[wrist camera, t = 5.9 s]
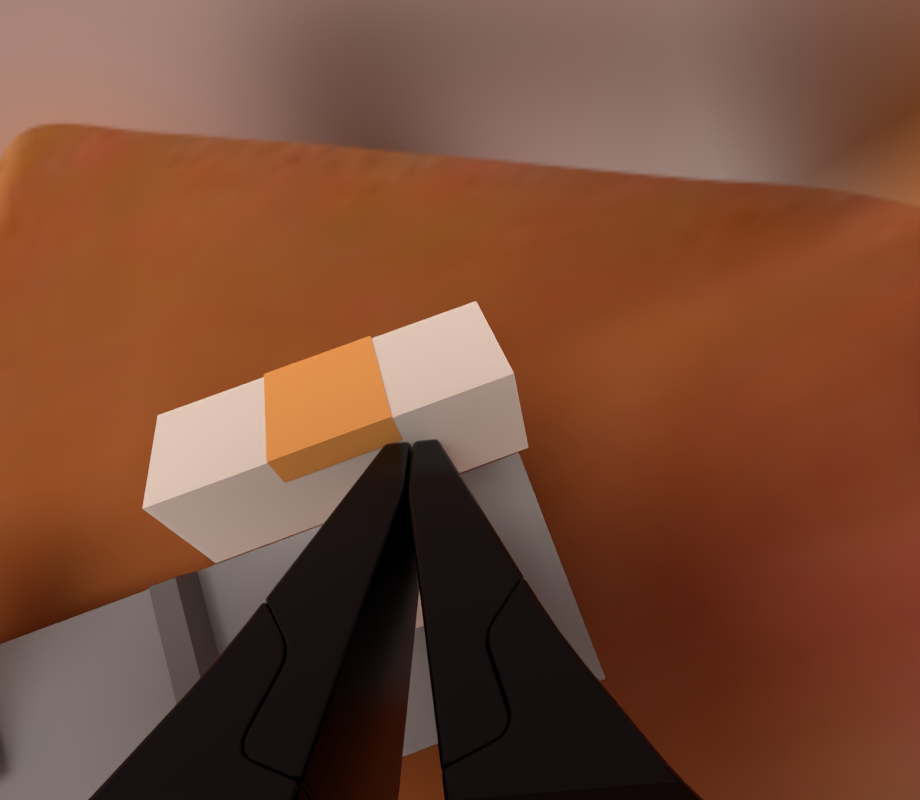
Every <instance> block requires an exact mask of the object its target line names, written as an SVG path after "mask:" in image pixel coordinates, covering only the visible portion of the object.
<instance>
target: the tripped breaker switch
mask: <svg viewBox="0 0 920 800" xmlns="http://www.w3.org/2000/svg"><path fill="white" fill-rule="evenodd" d="M431 439H437V440H438V441H440V443H441V444H442V446H443V448H444V449H445V451H446V452H447V454H448V456H449V457H450V459H451V460H452V462H453V464H454V465H455V467H456V468H457V470H458V472H459V473H461V472H464V471H467V470H469V469H472V468H475V467H477V466H480V465H483V464H486V463H488V462H491V461H494V460H496V459H499V458H502V457H505V456H507V455H510V454H513V453H515V452H518V451H521V450H523V449H526V448H529V447H528V442H527V437H526V432H525V427H524V422H523V417H522V411H521V406H520V401H519V396H518V391H517V386H516V381H515V376H514V372H513V371H512V369H511V367H510V365H509V363H508V361H507V359H506V357H505V355H504V353H503V351H502V350H501V348H500V346H499V344H498V342H497V340H496V338H495V336H494V334H493V332H492V330H491V329H490V327H489V325H488V323H487V321H486V319H485V317H484V315H483V313H482V311H481V309H480V308H479V306H478V304H477V302H476V301H475V302H472V303H469V304H466V305H463V306H461V307H458V308H455V309H452V310H450V311H447V312H444V313H441V314H438V315H436V316H433V317H430V318H427V319H424V320H422V321H419V322H416V323H413V324H411V325H408V326H405V327H402V328H399V329H397V330H394V331H391V332H388V333H385V334H383V335H380V336H377V337H374V338H372V339H371V336H368V337H366V338H363V339H360V340H357V341H355V342H352V343H349V344H346V345H343V346H341V347H338V348H335V349H332V350H329V351H327V352H324V353H321V354H318V355H315V356H313V357H310V358H307V359H304V360H302V361H299V362H296V363H293V364H290V365H288V366H285V367H282V368H279V369H276V370H274V371H271V372H268V373H265V374H264V377H263V378H260V379H257V380H255V381H252V382H249V383H246V384H243V385H241V386H238V387H235V388H232V389H229V390H227V391H224V392H221V393H218V394H216V395H213V396H210V397H207V398H204V399H202V400H199V401H196V402H193V403H190V404H188V405H185V406H182V407H179V408H177V409H174V410H171V411H168V412H165V413H163V414H160V415H158V417H157V423H156V429H155V435H154V441H153V447H152V453H151V459H150V466H149V472H148V478H147V484H146V490H145V496H144V502H143V508H142V509H143V510H145V511H146V512H148V513H149V514H150V515H152V516H153V517H154V518H156V519H157V520H158V521H160V522H161V523H162V524H164V525H165V526H166V527H168V528H169V529H170V530H172V531H173V532H174V533H176V534H177V535H178V536H180V537H181V538H182V539H184V540H185V541H187V542H188V543H189V544H191V545H192V546H193V547H195V548H196V549H197V550H199V551H200V552H201V553H203V554H204V555H205V556H207V557H208V558H209V559H211V560H212V561H213V562H215V563H218V562H220V561H223V560H226V559H228V558H231V557H234V556H236V555H239V554H242V553H245V552H247V551H250V550H253V549H255V548H258V547H261V546H264V545H266V544H269V543H272V542H274V541H277V540H280V539H283V538H285V537H288V536H291V535H293V534H296V533H299V532H301V531H304V530H307V529H310V528H312V527H315V526H318V525H320V524H322V525H323V524H324V522H325V521H326V520H327V519H328V517H329V516H330V515H331V513H332V512H333V511H334V510H335V508H336V507H337V506H338V504H339V503H340V502H341V501H342V499H343V498H344V497H345V495H346V494H347V493H348V491H349V490H350V489H351V488H352V486H353V485H354V484H355V482H356V481H357V480H358V479H359V477H360V476H361V475H362V473H363V472H364V471H365V470H366V468H367V467H368V466H369V464H370V463H371V462H372V461H373V459H374V458H375V457H376V455H377V454H378V453H379V451H380V450H381V449H382V448H383V446H384V445H386V444H389V443H399V442H409V443H410V444H411V446H412V450H413V444H414V443H415V442H416V441H420V440H431ZM421 626H424V624H423V616H422V608H421V600H420V591H419V597H418V607H417V617H416V627H415V629H416V628H419V627H421Z"/></svg>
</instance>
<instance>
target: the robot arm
mask: <svg viewBox="0 0 920 800" xmlns="http://www.w3.org/2000/svg"><path fill="white" fill-rule="evenodd" d="M419 591H420V600H421V608H422V616H423V624H424V632H425V640H426V649H427V657H428V665H429V673H430V681H431V689H432V698H433V706H434V714H435V722H436V730H437V738H438V747H439V755H440V763H441V769H442V773H443V774H442V779H443V788H444V796H445V800H703V799H702V798H701V797H700V796H699V795H698V794H697V793H696V792H695V791H694V790H693V789H691V788H690V787H689V786H688V785H687V784H686V783H685V782H684V781H683V779H682V778H681V777H680V776H679V775H678V774H677V773H676V772H675V771H674V770H673V769H672V768H671V767H670V765H669V764H668V763H667V762H666V761H665V760H664V759H663V757H662V756H661V755H660V754H659V753H658V752H657V750H656V749H655V748H654V747H653V746H652V744H651V743H650V742H649V741H648V740H647V738H646V737H645V736H644V735H643V733H642V732H641V731H640V730H639V729H638V727H637V726H636V725H635V724H634V723H633V721H632V720H631V719H630V718H629V716H628V715H627V714H626V713H625V712H624V710H623V709H622V708H621V707H620V706H619V704H618V703H617V702H616V701H615V699H614V698H613V697H612V696H611V695H610V693H609V692H608V691H607V690H606V689H605V687H604V686H603V685H602V684H601V683H600V681H599V680H598V679H597V678H596V676H595V675H594V674H593V673H592V672H591V670H590V669H589V668H588V667H587V666H586V664H585V663H584V662H583V660H582V659H581V658H580V657H579V655H578V654H577V653H576V651H575V650H574V649H573V648H572V646H571V645H570V644H569V642H568V641H567V640H566V638H565V637H564V636H563V635H562V633H561V632H560V631H559V629H558V628H557V626H556V625H555V623H554V622H553V620H552V619H551V617H550V616H549V614H548V613H547V612H546V610H545V609H544V607H543V606H542V604H541V603H540V601H539V600H538V598H537V596H536V595H535V593H534V592H533V590H532V588H531V587H530V585H529V584H528V582H527V581H526V580H525V579H524V577H523V574H522V573H521V571H520V570H519V568H518V566H517V565H516V563H515V562H514V560H513V558H512V557H511V555H510V554H509V552H508V550H507V549H506V547H505V546H504V544H503V542H502V541H501V539H500V538H499V536H498V534H497V533H496V531H495V529H494V528H493V526H492V525H491V523H490V521H489V520H488V518H487V517H486V515H485V513H484V512H483V510H482V509H481V507H480V505H479V504H478V502H477V501H476V499H475V497H474V496H473V494H472V493H471V491H470V489H469V488H468V486H467V485H466V483H465V481H464V480H463V478H462V476H461V475H460V473H459V472H458V470H457V468H456V467H455V465H454V464H453V462H452V460H451V459H450V457H449V456H448V454H447V452H446V451H445V449H444V448H443V446H442V444H441V443H440V441H438V440H437V439H431V440H420V441H416V442H415V443H414V444H413V450H412V446H411V444H410V443H409V442H399V443H389V444H386V445H384V446H383V448H382V449H381V450H380V451H379V453H378V454H377V455H376V457H375V458H374V459H373V461H372V462H371V463H370V464H369V466H368V467H367V468H366V470H365V471H364V472H363V473H362V475H361V476H360V477H359V479H358V480H357V481H356V482H355V484H354V485H353V486H352V488H351V489H350V490H349V491H348V493H347V494H346V495H345V497H344V498H343V499H342V501H341V502H340V503H339V504H338V506H337V507H336V508H335V510H334V511H333V512H332V513H331V515H330V516H329V517H328V519H327V520H326V521H325V522H324V524H323V525H322V526H321V528H320V529H319V530H318V531H317V533H316V534H315V535H314V537H313V538H312V539H311V541H310V542H309V543H308V544H307V546H306V547H305V548H304V550H303V551H302V552H301V553H300V555H299V556H298V557H297V559H296V560H295V561H294V562H293V564H292V565H291V566H290V568H289V569H288V570H287V571H286V573H285V574H284V575H283V577H282V578H281V579H280V581H279V582H278V583H277V584H276V586H275V587H274V588H273V590H272V591H271V592H270V593H269V595H268V596H267V597H266V603H262V604H261V605H260V606H259V607H258V609H257V610H256V611H255V612H254V614H253V615H252V616H251V618H250V619H249V620H248V621H247V623H246V624H245V625H244V627H243V628H242V629H241V630H240V631H239V633H238V634H237V635H236V636H235V638H234V639H233V640H232V641H231V642H230V644H229V645H228V646H227V647H226V649H225V650H224V651H223V652H222V654H221V655H220V656H219V657H218V658H217V660H216V661H215V662H214V663H213V664H212V665H211V666H210V667H209V669H208V670H207V671H206V672H205V673H204V674H203V675H202V676H201V678H200V679H199V680H198V681H197V682H196V683H195V684H194V685H193V687H192V688H191V689H190V690H189V691H188V692H187V693H186V694H185V696H184V697H183V698H182V699H181V700H180V701H179V702H178V703H177V704H176V705H175V706H174V708H173V709H172V710H171V711H170V712H169V713H168V714H167V715H166V716H165V717H164V718H163V719H162V720H161V722H160V723H159V724H158V725H157V726H156V727H155V728H154V729H153V730H152V731H151V732H150V733H149V735H148V736H147V737H146V738H145V739H144V740H143V741H142V742H141V743H140V744H139V745H138V746H137V747H136V749H135V750H134V751H133V752H132V753H131V754H130V755H129V756H128V757H127V758H126V759H125V760H124V761H123V763H122V764H121V765H120V766H119V767H118V768H117V769H116V770H115V771H114V772H113V773H112V774H111V776H110V777H109V778H108V779H107V780H106V781H105V782H104V783H103V784H102V785H101V786H100V787H99V788H98V790H97V791H96V792H95V793H94V794H93V795H92V796H91V797H90V798H89V799H88V800H398V795H399V785H400V775H401V765H402V755H403V746H404V736H405V726H406V716H407V706H408V696H409V686H410V676H411V667H412V657H413V647H414V637H415V627H416V617H417V607H418V597H419Z"/></svg>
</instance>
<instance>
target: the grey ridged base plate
mask: <svg viewBox="0 0 920 800" xmlns="http://www.w3.org/2000/svg"><path fill="white" fill-rule="evenodd" d="M460 475H461V476H462V478H463V480H464V481H465V483H466V485H467V486H468V488H469V489H470V491H471V493H472V494H473V496H474V497H475V499H476V501H477V502H478V504H479V505H480V507H481V509H482V510H483V512H484V513H485V515H486V517H487V518H488V520H489V521H490V523H491V525H492V526H493V528H494V529H495V531H496V533H497V534H498V536H499V538H500V539H501V541H502V542H503V544H504V546H505V547H506V549H507V550H508V552H509V554H510V555H511V557H512V558H513V560H514V562H515V563H516V565H517V566H518V568H519V570H520V571H521V573H522V574H523V577H524V579H525V580H526V581H527V582H528V584H529V585H530V587H531V588H532V590H533V592H534V593H535V595H536V596H537V598H538V600H539V601H540V603H541V604H542V606H543V607H544V609H545V610H546V612H547V613H548V614H549V616H550V617H551V619H552V620H553V622H554V623H555V625H556V626H557V628H558V629H559V631H560V632H561V633H562V635H563V636H564V637H565V638H566V640H567V641H568V642H569V644H570V645H571V646H572V648H573V649H574V650H575V651H576V653H577V654H578V655H579V657H580V658H581V659H582V660H583V662H584V663H585V664H586V666H587V667H588V668H589V669H590V670H591V672H592V673H593V674H594V675H595V676H596V678H597V679H598V680H599V681H601V680H604V679H606V678H605V675H604V673H603V670H602V668H601V665H600V663H599V660H598V657H597V655H596V652H595V650H594V647H593V644H592V642H591V639H590V637H589V634H588V631H587V629H586V626H585V624H584V621H583V618H582V616H581V613H580V611H579V608H578V605H577V603H576V600H575V598H574V595H573V592H572V590H571V587H570V585H569V582H568V579H567V577H566V574H565V572H564V569H563V566H562V564H561V561H560V559H559V556H558V553H557V551H556V548H555V546H554V543H553V540H552V538H551V535H550V533H549V530H548V528H547V525H546V522H545V520H544V517H543V515H542V512H541V509H540V507H539V504H538V502H537V499H536V496H535V494H534V491H533V489H532V486H531V483H530V481H529V478H528V476H527V473H526V470H525V468H524V465H523V463H522V460H521V457H520V455H519V453H516V454H514V455H511V456H508V457H505V458H503V459H500V460H497V461H495V462H492V463H489V464H486V465H484V466H481V467H478V468H476V469H473V470H470V471H467V472H465V473H462V474H460ZM321 526H322V525H321ZM321 526H319V527H316V528H313V529H310V530H308V531H305V532H302V533H300V534H297V535H294V536H292V537H289V538H286V539H283V540H281V541H278V542H275V543H273V544H270V545H267V546H264V547H262V548H259V549H256V550H254V551H251V552H248V553H246V554H243V555H240V556H237V557H235V558H232V559H229V560H227V561H224V562H221V563H218V564H216V565H213V566H210V567H208V568H205V569H202V570H200V571H197V572H193V573H189V574H186V575H182V576H178V577H175V578H172V579H170V580H167V581H164V582H161V583H159V584H156V585H153V586H151V587H148V588H149V589H148V590H145V591H143V592H140V593H137V594H135V595H132V596H129V597H126V598H124V599H121V600H118V601H116V602H113V603H110V604H107V605H105V606H102V607H99V608H97V609H94V610H91V611H89V612H86V613H83V614H80V615H78V616H75V617H72V618H70V619H67V620H64V621H61V622H59V623H56V624H53V625H51V626H48V627H45V628H43V629H40V630H37V631H34V632H32V633H29V634H26V635H24V636H21V637H18V638H15V639H13V640H10V641H7V642H5V643H2V644H0V800H88V799H89V798H90V797H91V796H92V795H93V794H94V793H95V792H96V791H97V790H98V788H99V787H100V786H101V785H102V784H103V783H104V782H105V781H106V780H107V779H108V778H109V777H110V776H111V774H112V773H113V772H114V771H115V770H116V769H117V768H118V767H119V766H120V765H121V764H122V763H123V761H124V760H125V759H126V758H127V757H128V756H129V755H130V754H131V753H132V752H133V751H134V750H135V749H136V747H137V746H138V745H139V744H140V743H141V742H142V741H143V740H144V739H145V738H146V737H147V736H148V735H149V733H150V732H151V731H152V730H153V729H154V728H155V727H156V726H157V725H158V724H159V723H160V722H161V720H162V719H163V718H164V717H165V716H166V715H167V714H168V713H169V712H170V711H171V710H172V709H173V708H174V706H175V705H176V704H177V703H178V702H179V701H180V700H181V699H182V698H183V697H184V696H185V694H186V693H187V692H188V691H189V690H190V689H191V688H192V687H193V685H194V684H195V683H196V682H197V681H198V680H199V679H200V678H201V676H202V675H203V674H204V673H205V672H206V671H207V670H208V669H209V667H210V666H211V665H212V664H213V663H214V662H215V661H216V660H217V658H218V657H219V656H220V655H221V654H222V652H223V651H224V650H225V649H226V647H227V646H228V645H229V644H230V642H231V641H232V640H233V639H234V638H235V636H236V635H237V634H238V633H239V631H240V630H241V629H242V628H243V627H244V625H245V624H246V623H247V621H248V620H249V619H250V618H251V616H252V615H253V614H254V612H255V611H256V610H257V609H258V607H259V606H260V605H261V604H262V603H266V597H267V596H268V595H269V593H270V592H271V591H272V590H273V588H274V587H275V586H276V584H277V583H278V582H279V581H280V579H281V578H282V577H283V575H284V574H285V573H286V571H287V570H288V569H289V568H290V566H291V565H292V564H293V562H294V561H295V560H296V559H297V557H298V556H299V555H300V553H301V552H302V551H303V550H304V548H305V547H306V546H307V544H308V543H309V542H310V541H311V539H312V538H313V537H314V535H315V534H316V533H317V531H318V530H319V529H320V528H321ZM435 744H438V738H437V730H436V722H435V714H434V706H433V698H432V689H431V681H430V673H429V665H428V657H427V649H426V640H425V632H424V626H421V627H419V628H416V629H415V637H414V647H413V657H412V667H411V676H410V686H409V696H408V706H407V716H406V726H405V736H404V746H403V755H402V757H404V756H407V755H409V754H412V753H415V752H417V751H420V750H422V749H425V748H428V747H430V746H433V745H435Z"/></svg>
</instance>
